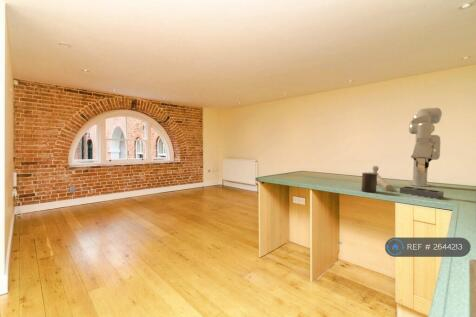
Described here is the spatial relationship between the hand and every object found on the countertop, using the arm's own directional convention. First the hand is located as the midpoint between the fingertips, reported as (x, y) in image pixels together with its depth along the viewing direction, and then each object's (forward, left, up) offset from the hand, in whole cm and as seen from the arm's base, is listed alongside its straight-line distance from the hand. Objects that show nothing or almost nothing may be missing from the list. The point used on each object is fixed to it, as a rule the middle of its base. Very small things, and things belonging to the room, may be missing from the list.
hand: (422, 167), depth 159 cm
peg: (0, 0, -3) cm, 3 cm away
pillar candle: (+18, -26, -20) cm, 37 cm away
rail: (0, 0, -19) cm, 19 cm away
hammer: (-5, -29, -20) cm, 36 cm away
